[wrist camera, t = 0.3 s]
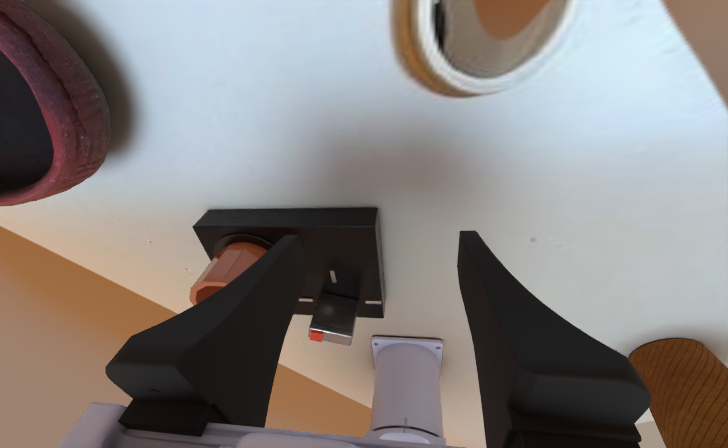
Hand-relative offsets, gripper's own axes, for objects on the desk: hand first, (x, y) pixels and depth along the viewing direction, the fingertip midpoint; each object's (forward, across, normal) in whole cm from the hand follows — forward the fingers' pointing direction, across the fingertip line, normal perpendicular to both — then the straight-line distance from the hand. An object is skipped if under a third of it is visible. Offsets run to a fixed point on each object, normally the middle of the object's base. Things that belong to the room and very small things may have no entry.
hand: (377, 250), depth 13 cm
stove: (+10, +9, +9) cm, 16 cm away
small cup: (+7, +12, +8) cm, 16 cm away
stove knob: (+7, +6, +13) cm, 16 cm away
